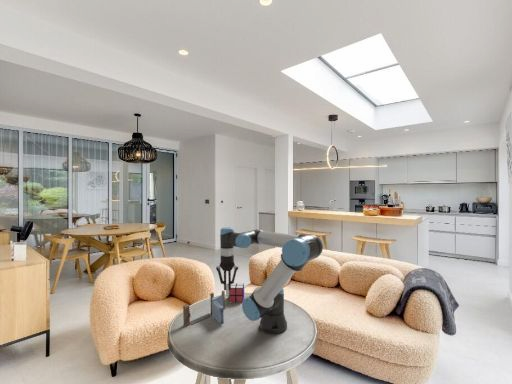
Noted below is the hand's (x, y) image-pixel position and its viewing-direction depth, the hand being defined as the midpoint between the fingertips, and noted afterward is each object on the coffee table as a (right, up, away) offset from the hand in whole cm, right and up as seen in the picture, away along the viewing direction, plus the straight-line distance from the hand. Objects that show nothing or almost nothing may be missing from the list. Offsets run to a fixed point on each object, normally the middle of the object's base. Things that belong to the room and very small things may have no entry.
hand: (227, 295), depth 161 cm
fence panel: (-7, -16, +15) cm, 23 cm away
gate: (-6, -15, +3) cm, 16 cm away
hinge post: (-10, -16, +11) cm, 22 cm away
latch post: (-23, -16, -2) cm, 28 cm away
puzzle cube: (+3, -15, +32) cm, 36 cm away
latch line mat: (-17, -16, +5) cm, 23 cm away
